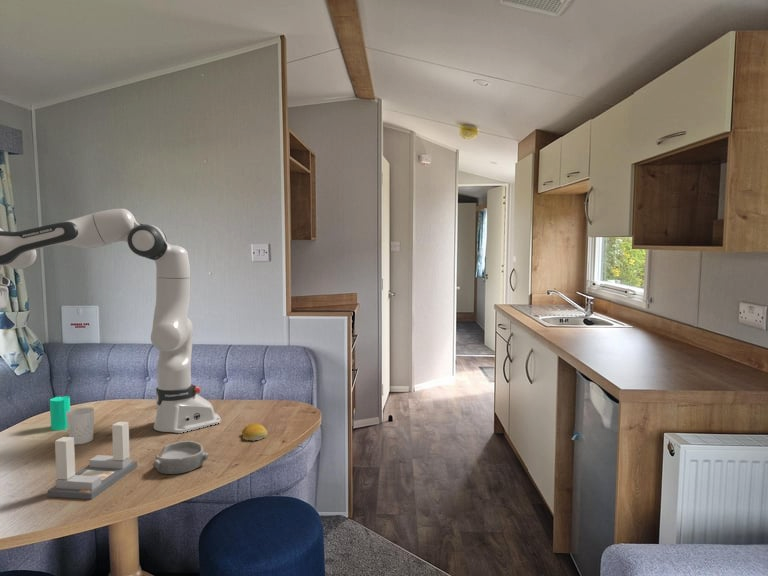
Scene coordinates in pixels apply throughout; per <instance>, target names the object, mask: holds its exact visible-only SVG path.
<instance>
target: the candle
mask: <svg viewBox="0 0 768 576" xmlns="http://www.w3.org/2000/svg"><path fill="white" fill-rule="evenodd" d="M69 410H71V397H70V395H64V396H55V397H53V398H50V399H49V411H50V412H49V413H50V416H49V417H50V429H52V430H51V431H55V430H56V431H63V430H68V428H67V417H66V412H67V411H69Z"/></svg>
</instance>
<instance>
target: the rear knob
mask: <svg viewBox="0 0 768 576" xmlns="http://www.w3.org/2000/svg"><path fill="white" fill-rule="evenodd" d="M129 427H130V424H129V421H117V422H115V423H114V424H111V428H112V431H111V433H112V456H113V460H125V459H126V458H128V457H131V455H130V454H131V453H130V428H129Z"/></svg>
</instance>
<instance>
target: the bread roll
mask: <svg viewBox="0 0 768 576" xmlns="http://www.w3.org/2000/svg"><path fill="white" fill-rule="evenodd" d="M241 435H242V439H243V440H244V439H245V440H244V441H248V440H253V441H252V442H256V441H255V440H258V441H261V440H263V438H264V439H265V438H267V436H268V430H267V429H266V427H264V425H262V424H259V423H250V424H248V425H247V426H244V428H243V429H242V432H241ZM260 439H261V440H260Z"/></svg>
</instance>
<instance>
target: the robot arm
mask: <svg viewBox="0 0 768 576" xmlns="http://www.w3.org/2000/svg"><path fill="white" fill-rule="evenodd" d="M167 239H168V238H167V237H166V234H165V232H163V230H161V228H159V227H157V226H156V225H153V224H146V223H145V224H143V223H138V222H137V220H136V218H135V216H134V214H133V213H132V212H131V211H129V210H128V209H126V208H122V207H121V208H111V209H106V210H102V211H96V212H93V213H90V214H86V215H82V216H78V217H75V218H73V219H68V220H65V221H62V222H56V223H52V224H47V225H43V226H38V227H33V228H29V229H25V230H20V231H6V230H4V229H2V228H1V227H0V270H1V268H2V267H7V268H12V269H14V270H24V269H25V270H26V269H29V268H30V267H32V266H33V265H34V264H35V262H36V261H37V257H38V252H37V250H38V249H43V248H47V247H51V246H70V247H75V248H80V249H84V250H85V249H86V250H87V249H97V248H99V247H101V248H102V247H104V246H105V247H106V246H107V245H110V244H113V243H117V242H126V243H127V245H128V247H129V249H130V251H131V252H133V253H134V254H135V255H137V256H139V257H142V258H145V259H149V260H152V261H154V262H155V266H156V269H155V270H156V275H155V276H156V284H155V285H156V288H155V289H156V290H155V293H156V294H155V295H156V296H155V297H156V298H155V306H154V311H153V312H154V313H153V319H152V327H151V328H152V329H151V334H150V340H151V341H150V342H151V344H152V346H153V347H154V348H155V349H157V350H158V351H159V353H158V360H157V363H156V364H157V365H156V376H157V377H156V378H157V379H156V380H157V386H156V391H155V399H156V400H155V402H156V414H155V420H154V423H153V429H154V430H155V431H158V432H161V433H163V432H164V433H175V434H183V432H184V433H187V431H188V432H191V430H192V431H196V430H199V428H200V429H203V427H204V428H207V426H208V427H211V426H210V425H212V426H215V424H216V425H219V424H220V423H221V422H222V418H221V416H220V414H218V413H216V412H215V410H214V407H213V404H212V403H211V402H210V401H209V400H207V399H206V398H204V397H202V396H201V395H199V394H200V392H201V388H200V387H199V386H198V385H195V384H193V383H192V371H191V370H192V367H191V364H192V352H193V343H194V342H193V341H194V339H193V336H194V324H193V322H192V320H191V319H190V318H189V308H190V302H191V264H190V257H189V253H188V251H187V249H185V248H184V247H183V246H180V245H176V244H170V243H168V240H167ZM10 285H11V280H10V279H9V278H7V277H6V276H5V275H4V274H3V273H1V272H0V309H5V308H6V307H7V305H8V300H9V288H8V287H9V286H10ZM218 423H219V424H218Z"/></svg>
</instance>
